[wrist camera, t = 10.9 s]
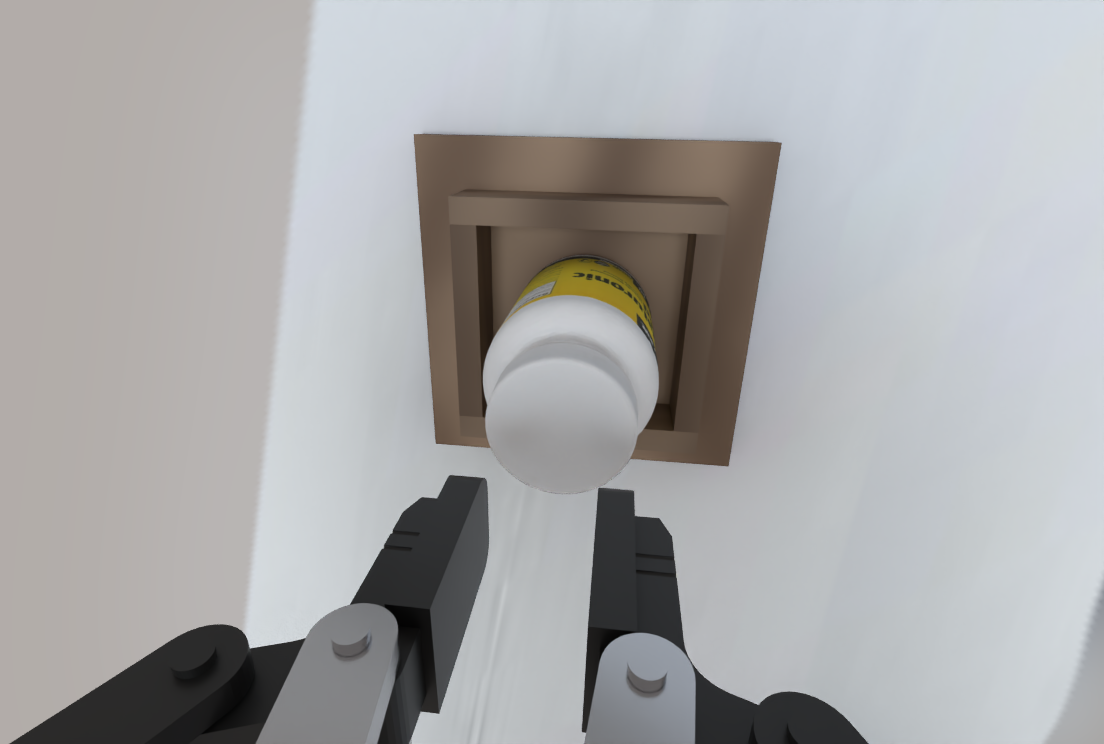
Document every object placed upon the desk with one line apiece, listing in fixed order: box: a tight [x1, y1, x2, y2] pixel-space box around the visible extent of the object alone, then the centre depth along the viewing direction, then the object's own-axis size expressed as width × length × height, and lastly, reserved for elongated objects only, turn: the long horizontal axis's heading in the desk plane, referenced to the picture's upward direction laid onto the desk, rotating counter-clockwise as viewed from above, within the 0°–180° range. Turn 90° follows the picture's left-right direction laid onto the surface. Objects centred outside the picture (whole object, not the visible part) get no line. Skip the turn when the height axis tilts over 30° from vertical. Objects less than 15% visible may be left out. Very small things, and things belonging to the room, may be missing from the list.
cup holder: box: [414, 134, 782, 466], centre depth 24 cm, size 14×14×4 cm
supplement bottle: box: [483, 255, 659, 494], centre depth 20 cm, size 6×6×10 cm
